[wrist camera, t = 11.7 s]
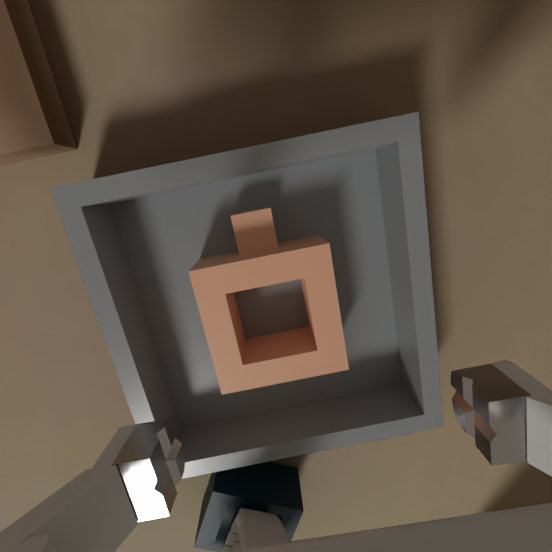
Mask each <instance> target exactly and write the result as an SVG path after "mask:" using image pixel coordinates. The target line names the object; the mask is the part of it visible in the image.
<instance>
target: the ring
mask: <svg viewBox="0 0 552 552" xmlns="http://www.w3.org/2000/svg"><path fill="white" fill-rule="evenodd" d="M231 221H232V225H233V229H234V234H235V238H236V243H237V247H238V251H234V252H229V253H225V254H220V255H215V256H210V257H205V258H200V259H199V260H198V261H197V262H196V263H195V264H194V266H193V267H192V268H191V269H190V270H189V271H188V273H189V276H190V280H191V284H192V287H193V291H194V295H195V298H196V302H197V306H198V309H199V313H200V317H201V320H202V324H203V328H204V331H205V335H206V339H207V342H208V346H209V350H210V354H211V357H212V361H213V365H214V368H215V372H216V376H217V379H218V383H219V387H220V390H221V394H222V395H223V394H228V393H233V392H238V391H244V390H249V389H254V388H259V387H264V386H269V385H274V384H279V383H284V382H289V381H294V380H299V379H304V378H309V377H314V376H319V375H324V374H330V373H335V372H340V371H345V370H349V366H348V360H347V353H346V347H345V340H344V334H343V327H342V321H341V314H340V308H339V302H338V295H337V289H336V282H335V276H334V269H333V263H332V256H331V250H330V243H329V242H327V241H326V240H325V239H323V238H322V237H321V236H320V235H314V236H309V237H304V238H299V239H294V240H289V241H284V242H279V243H278V242H277V237H276V232H275V227H274V222H273V217H272V212H271V207H270V206H268V207H264V208H259V209H254V210H249V211H244V212H239V213H234V214H232V215H231ZM298 279H301V285H302V290H303V296H304V301H305V307H306V312H307V318H308V323H309V327H304V328H299V329H294V330H289V331H284V332H279V333H274V334H269V335H264V336H259V337H254V338H249V339H245V335H244V331H243V327H242V323H241V318H240V314H239V310H238V306H237V302H236V297H235V293H234V292H238V291H243V290H248V289H253V288H258V287H263V286H268V285H273V284H278V283H283V282H288V281H293V280H298Z"/></svg>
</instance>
